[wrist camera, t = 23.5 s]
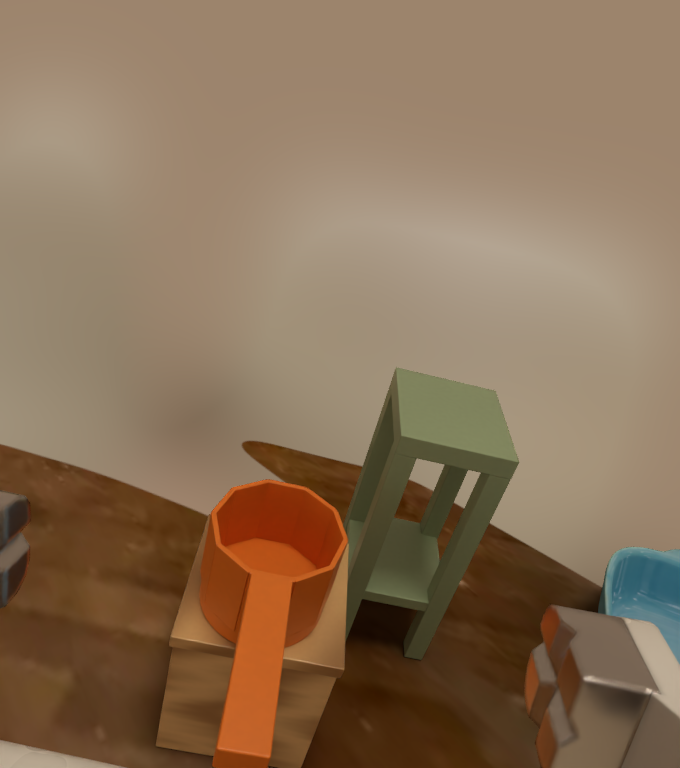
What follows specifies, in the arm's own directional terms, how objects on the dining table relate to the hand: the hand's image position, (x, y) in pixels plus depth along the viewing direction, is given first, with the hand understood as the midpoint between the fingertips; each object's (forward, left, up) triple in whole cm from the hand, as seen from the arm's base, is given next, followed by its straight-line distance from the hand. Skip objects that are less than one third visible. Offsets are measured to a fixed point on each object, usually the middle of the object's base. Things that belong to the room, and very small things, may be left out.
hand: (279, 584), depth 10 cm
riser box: (+2, +21, -35) cm, 41 cm away
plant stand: (+12, +31, -35) cm, 48 cm away
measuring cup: (+1, +16, -24) cm, 29 cm away
